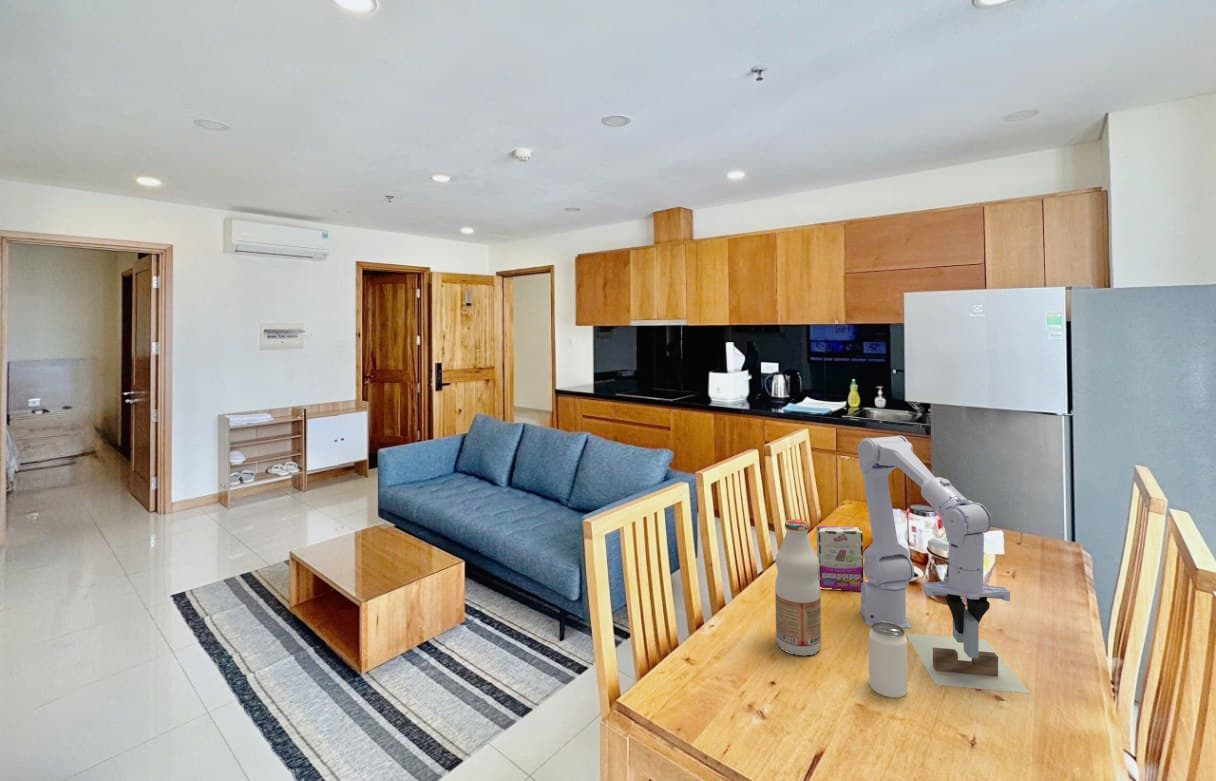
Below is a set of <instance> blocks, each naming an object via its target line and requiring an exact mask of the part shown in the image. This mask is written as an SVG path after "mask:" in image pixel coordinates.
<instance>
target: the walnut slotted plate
mask: <svg viewBox="0 0 1216 781" xmlns="http://www.w3.org/2000/svg"><path fill="white" fill-rule="evenodd" d="M933 668H934V669H935V671H941V672H952V673H963V674H974V675H985V676H996V677H998V656H997V655H996V654H995V653H994V652H982V651H978V658H972V661H963V660H958V653H957V652H956V650H955V649H945V648H933Z"/></svg>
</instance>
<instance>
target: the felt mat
mask: <svg viewBox="0 0 1216 781" xmlns="http://www.w3.org/2000/svg"><path fill="white" fill-rule="evenodd" d="M905 636H906V638H908V640H909V642H910V643H911V645H912V647H913V649H914V650H915V652H916V653H917V656H918V658H919V660H920V661H921V662H922V664H923V666H924V668H925V670H926V671H927V673H928V674H929V676H930V677H931V680H932V681H933V684H934V685H936V686H943V687H944V686H945V687H946V686H947V687H956V688H957V687H958V688H967V689H976V690H987V691H996V692H997V691H998V692H1007V693H1017V694H1019V693H1020V694H1030V695H1032V693H1031V691H1030V690H1029V689H1028V688H1027V687H1026V685H1024V683H1023V682H1022V680H1020V678H1019V677H1018V676H1017V674H1015V673H1014V671H1013V670H1012V669H1011V667H1009V665H1008V664H1007V663H1006V662H1005V661H1004V659H1003V658H1002V657H1001V656H1000V654H999V653H998V652H997V651H996V649H994V648H993V646H992V645H991V644H990V642H988V640H987V639H984V638H983V639H980V638H979V641H978V651H982V652H994V653H995V654H996V655H997V656H998V677H996V676H985V675H974V674H963V673H952V672H941V671H935V669H934V668H933V648H945V649H955V650H956V652H957V653H958V660H963V661H972V658H970V657H968V655H967V654H966V653H965V652H964V643H959V642H957V641H956V640H955V638H954V637H953V636H942V635H929V634H917V633H915V634H914V633H905Z"/></svg>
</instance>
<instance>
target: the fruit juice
mask: <svg viewBox="0 0 1216 781" xmlns="http://www.w3.org/2000/svg"><path fill="white" fill-rule="evenodd" d="M784 528H785V531H786V532H785V535H784V536H783V540H782V543H781V546H780V547H779V550H778V551H777V553H776V555H775V566H776V569H777V575H776V578H775V584H774V585H775V587H774V588H775V589H774V592H775V595H774V596H775V638H776V640H775V641H776V643H778V644H777V646H778V645H779V646H780V647H781V648H783V649H784V650H786V651H788V652H790V653H792V654H791V655H793V654H796V655H795V656H797V655H803V656H802V657H807V656H806V655H811V656H814V655H816V654H818V653H819V652H818V651H821V645H822V626H821V625H822V622H821V621H822V620H821V619H822V617H821V614H822V613H821V612H822V611H821V608H822V607H821V606H822V604H821V603H822V602H821V589H820V583H819V580H818V571H819V559H818V556H817V552H815V550H814V547H813V544H812V541H811V539H810V537H809V534H808V532H809V528H810V526H809V522H808V521H806V520H802V519H797V518H794V519H793V518H792V519H787V520H785V522H784ZM779 646H778V647H779ZM780 647H779V648H780ZM781 648H780V649H781ZM817 652H818V653H817ZM790 653H789V654H790ZM813 654H814V655H813ZM804 655H805V656H804Z"/></svg>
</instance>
